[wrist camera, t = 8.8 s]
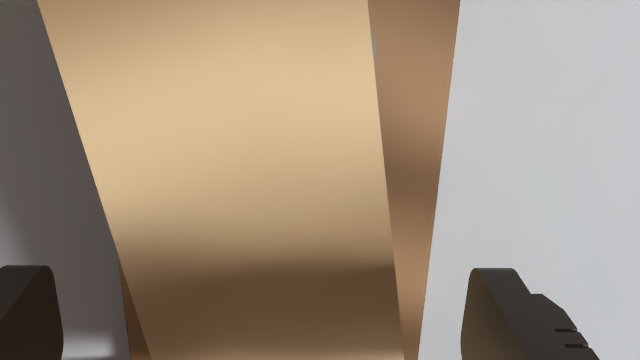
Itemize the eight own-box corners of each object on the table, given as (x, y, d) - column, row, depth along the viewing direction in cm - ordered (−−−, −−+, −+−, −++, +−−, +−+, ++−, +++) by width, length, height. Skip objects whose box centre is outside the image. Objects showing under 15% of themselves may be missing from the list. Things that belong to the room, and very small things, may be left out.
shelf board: (95, -85, 12) (8, -89, 9) (335, -122, 12) (352, -142, 8) (229, 421, 18) (212, 550, 14) (394, 398, 18) (421, 523, 14)
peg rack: (406, 395, 23) (481, 712, 14) (143, 397, 22) (39, 726, 13) (475, -217, 15) (762, -440, 6) (71, -235, 14) (-316, -509, 5)
